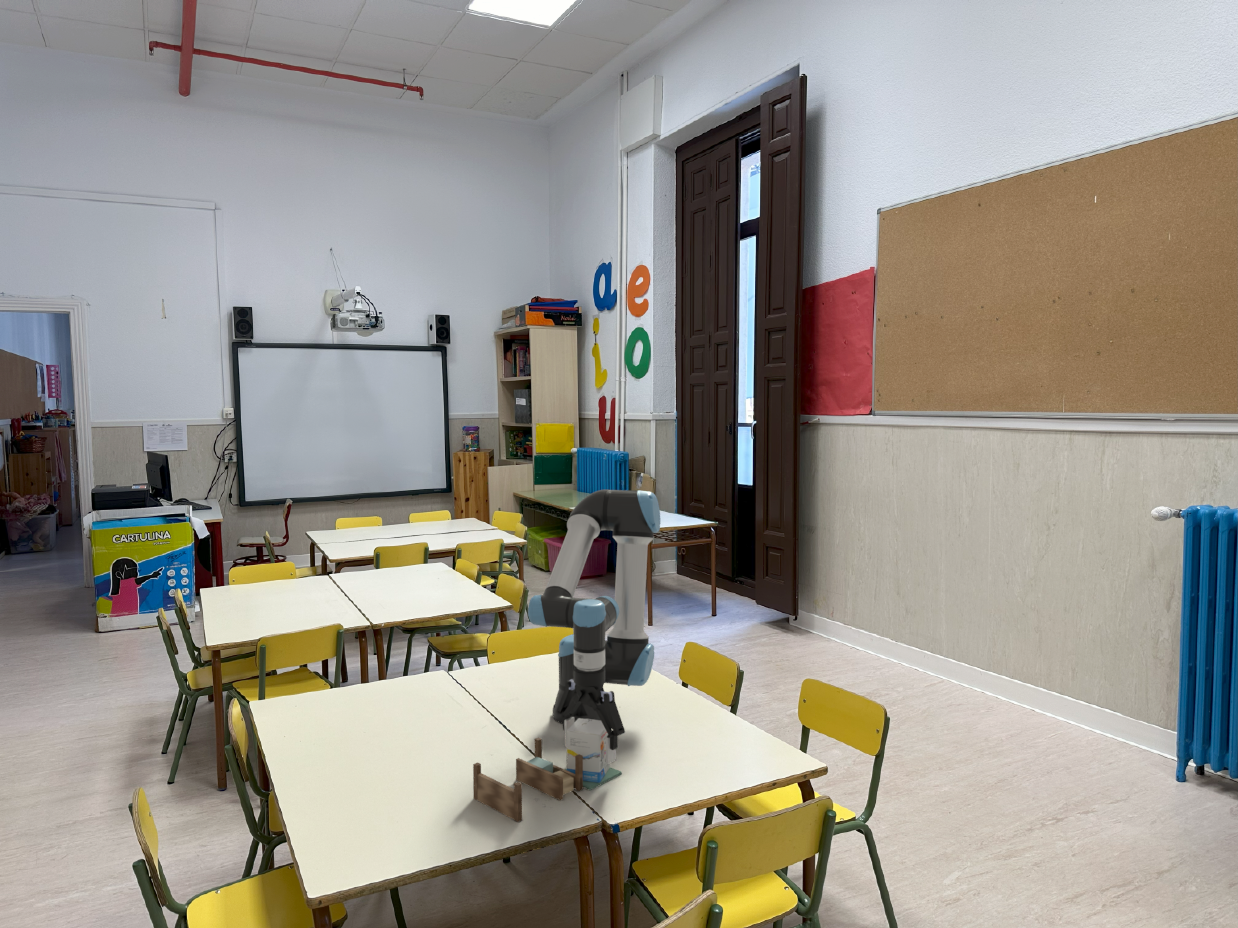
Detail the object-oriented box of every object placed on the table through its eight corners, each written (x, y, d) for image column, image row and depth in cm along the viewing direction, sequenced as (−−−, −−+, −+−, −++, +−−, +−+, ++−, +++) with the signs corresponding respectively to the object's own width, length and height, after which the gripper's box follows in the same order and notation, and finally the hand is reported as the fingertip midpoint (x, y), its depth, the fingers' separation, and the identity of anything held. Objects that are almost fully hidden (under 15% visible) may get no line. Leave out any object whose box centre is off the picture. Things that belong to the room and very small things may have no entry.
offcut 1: (524, 772, 188) (524, 762, 188) (536, 766, 192) (536, 756, 192) (540, 778, 185) (540, 768, 185) (553, 772, 189) (553, 762, 188)
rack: (473, 798, 180) (473, 764, 179) (538, 769, 195) (538, 737, 194) (517, 821, 170) (517, 785, 169) (582, 789, 185) (582, 755, 184)
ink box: (600, 783, 186) (600, 734, 185) (565, 778, 188) (565, 730, 188) (610, 767, 194) (610, 720, 194) (577, 763, 197) (577, 716, 196)
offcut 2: (544, 789, 185) (544, 775, 185) (559, 783, 188) (560, 770, 188) (558, 797, 181) (558, 783, 181) (573, 791, 184) (573, 777, 184)
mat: (556, 775, 191) (556, 772, 191) (588, 760, 200) (588, 757, 200) (589, 790, 184) (589, 787, 184) (621, 773, 192) (621, 771, 192)
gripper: (541, 658, 196) (542, 742, 197) (618, 682, 179) (618, 774, 181) (563, 651, 201) (564, 733, 203) (639, 674, 185) (639, 763, 186)
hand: (589, 752), depth 192 cm, fingers open, 13 cm apart
